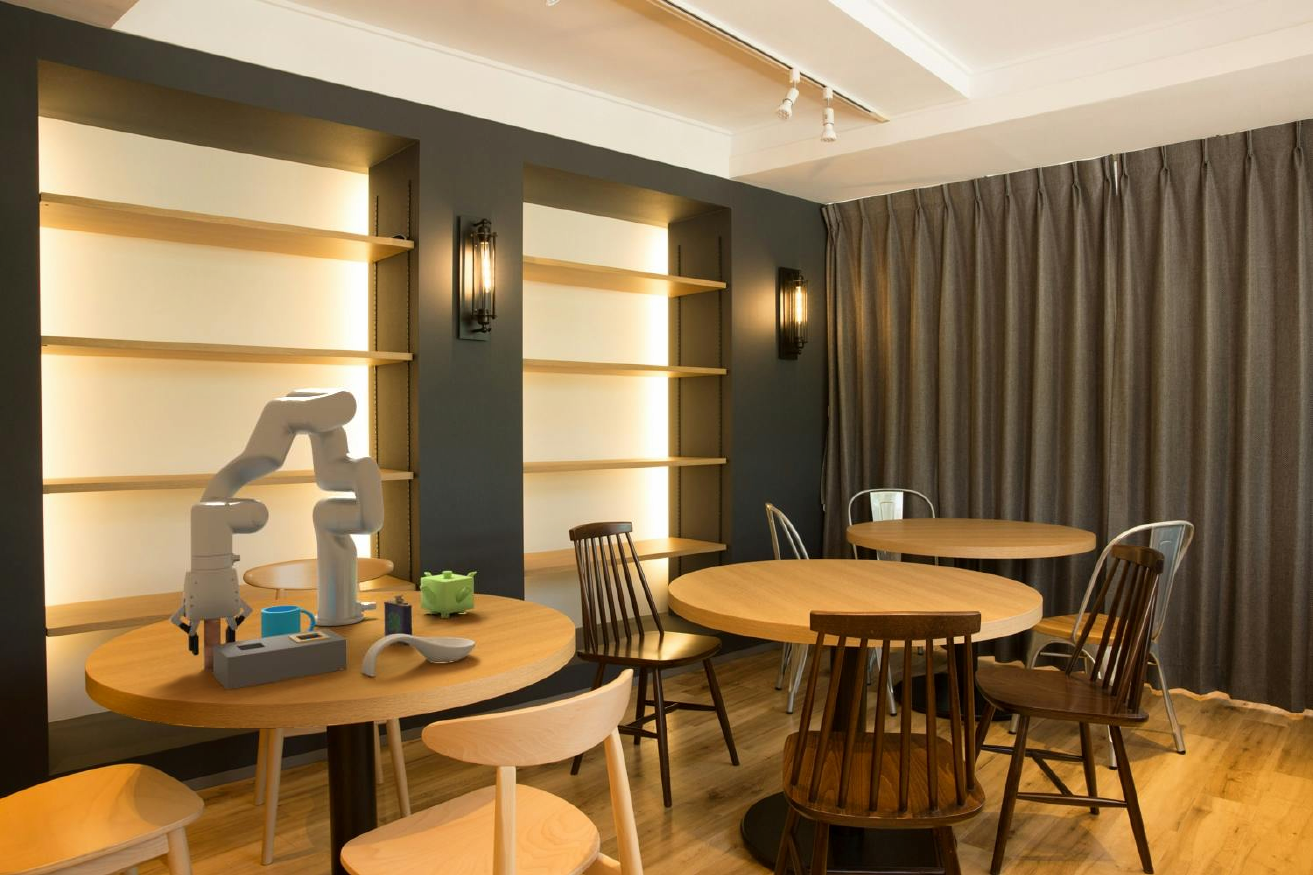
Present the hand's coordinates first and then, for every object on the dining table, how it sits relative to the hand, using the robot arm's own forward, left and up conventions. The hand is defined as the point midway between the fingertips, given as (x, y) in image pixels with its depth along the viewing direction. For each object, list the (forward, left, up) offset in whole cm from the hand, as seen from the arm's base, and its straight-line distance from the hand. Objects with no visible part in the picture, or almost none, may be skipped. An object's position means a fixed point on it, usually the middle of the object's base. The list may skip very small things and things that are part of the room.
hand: (212, 650), depth 173 cm
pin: (0, 0, -4) cm, 4 cm away
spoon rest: (-34, +24, -4) cm, 42 cm away
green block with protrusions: (-60, -18, -4) cm, 63 cm away
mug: (-18, -11, -4) cm, 21 cm away
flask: (-38, +3, -4) cm, 38 cm away
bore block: (-10, +12, -4) cm, 16 cm away
